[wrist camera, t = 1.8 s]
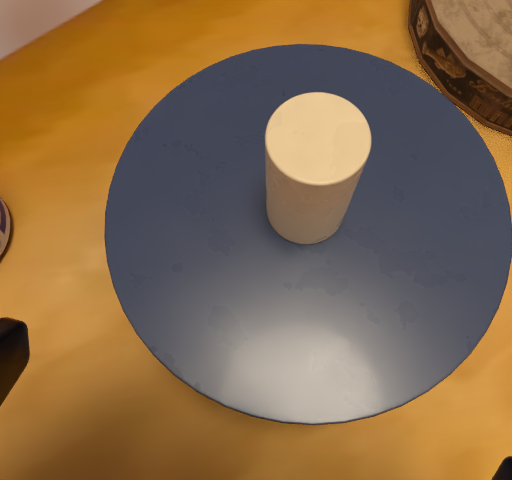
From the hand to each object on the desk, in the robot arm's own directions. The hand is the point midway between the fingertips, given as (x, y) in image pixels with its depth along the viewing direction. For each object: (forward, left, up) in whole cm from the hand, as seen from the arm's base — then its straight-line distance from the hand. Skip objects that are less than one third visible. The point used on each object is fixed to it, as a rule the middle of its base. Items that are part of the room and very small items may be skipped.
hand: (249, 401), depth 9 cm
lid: (+6, +3, -6) cm, 9 cm away
